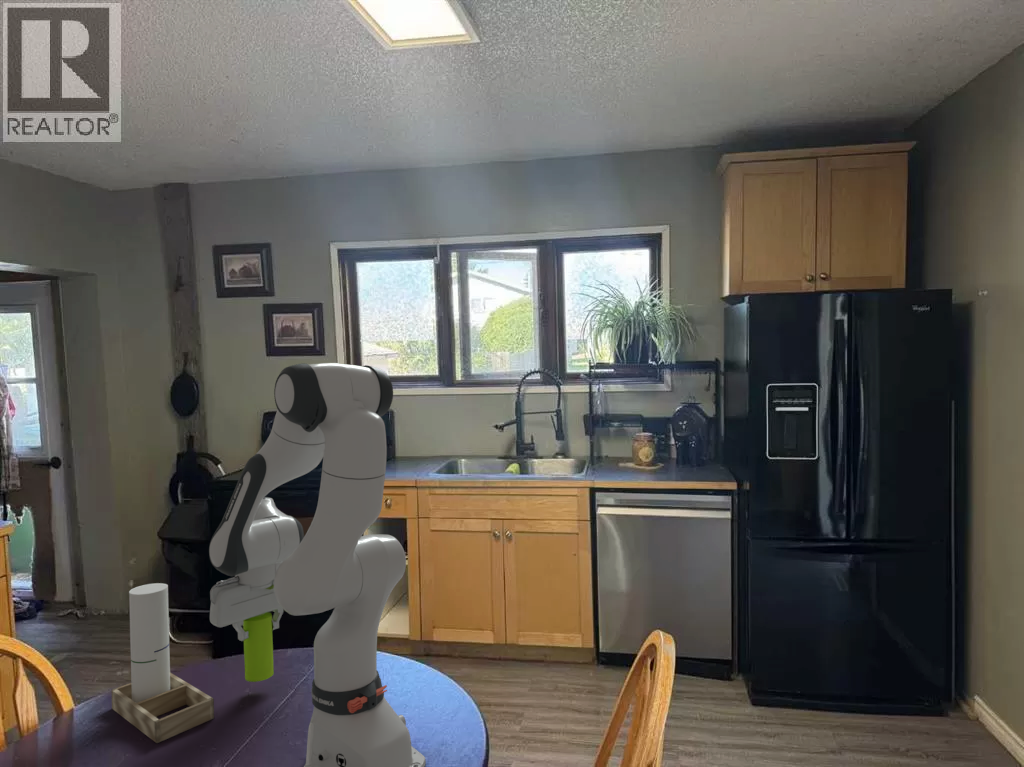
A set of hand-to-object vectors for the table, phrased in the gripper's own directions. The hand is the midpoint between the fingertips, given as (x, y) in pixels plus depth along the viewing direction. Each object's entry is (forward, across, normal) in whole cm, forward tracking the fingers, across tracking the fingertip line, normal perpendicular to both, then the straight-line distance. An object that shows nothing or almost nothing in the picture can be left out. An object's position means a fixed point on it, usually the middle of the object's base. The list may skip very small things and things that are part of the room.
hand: (259, 634), depth 140 cm
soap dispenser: (+10, 0, 0) cm, 10 cm away
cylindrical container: (+13, -17, +14) cm, 25 cm away
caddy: (+13, -17, +9) cm, 23 cm away
